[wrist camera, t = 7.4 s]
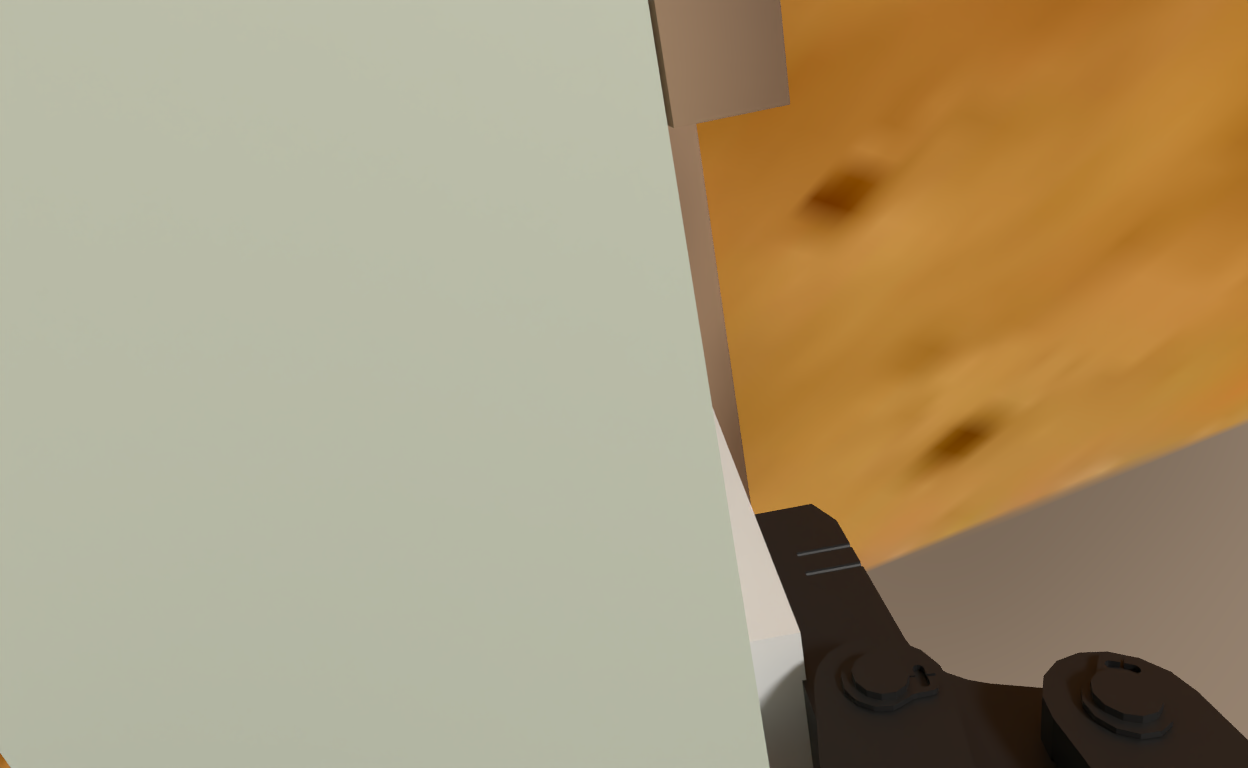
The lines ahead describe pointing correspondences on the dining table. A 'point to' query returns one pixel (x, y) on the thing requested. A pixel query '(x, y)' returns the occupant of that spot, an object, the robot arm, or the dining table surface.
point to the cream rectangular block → (355, 394)
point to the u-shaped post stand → (694, 93)
